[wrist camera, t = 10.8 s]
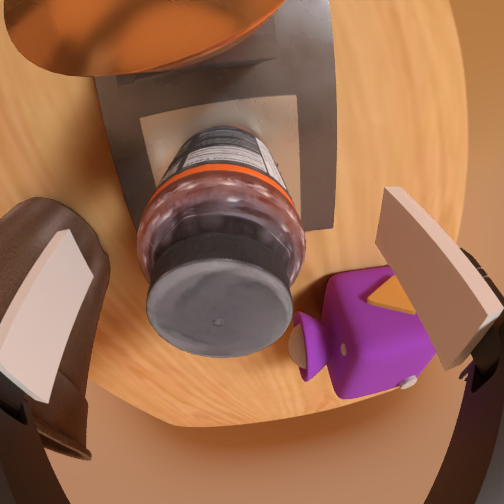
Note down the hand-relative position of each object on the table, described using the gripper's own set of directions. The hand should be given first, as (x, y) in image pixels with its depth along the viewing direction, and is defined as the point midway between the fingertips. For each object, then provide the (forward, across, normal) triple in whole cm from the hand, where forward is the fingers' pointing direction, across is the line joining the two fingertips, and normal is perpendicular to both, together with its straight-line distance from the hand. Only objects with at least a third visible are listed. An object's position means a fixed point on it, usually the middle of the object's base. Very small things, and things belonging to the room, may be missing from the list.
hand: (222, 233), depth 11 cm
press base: (+9, 0, +3) cm, 9 cm away
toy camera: (+9, +10, -16) cm, 20 cm away
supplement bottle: (+7, 0, 0) cm, 7 cm away
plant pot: (+9, -17, -5) cm, 20 cm away
